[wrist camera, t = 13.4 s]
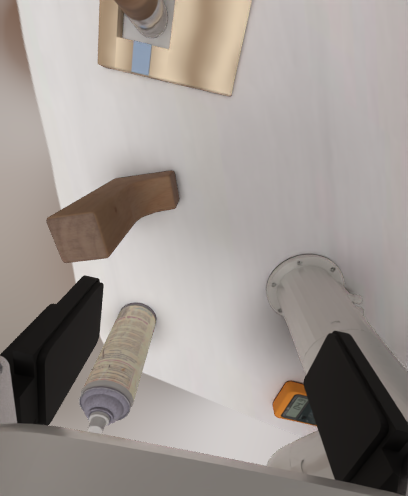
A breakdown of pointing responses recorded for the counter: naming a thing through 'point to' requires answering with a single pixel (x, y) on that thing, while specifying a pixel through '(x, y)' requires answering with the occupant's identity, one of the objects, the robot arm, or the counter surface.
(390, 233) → the counter surface
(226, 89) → the board
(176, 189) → the wooden block
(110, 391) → the aerosol can
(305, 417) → the multimeter
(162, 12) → the two-tone cylinder
